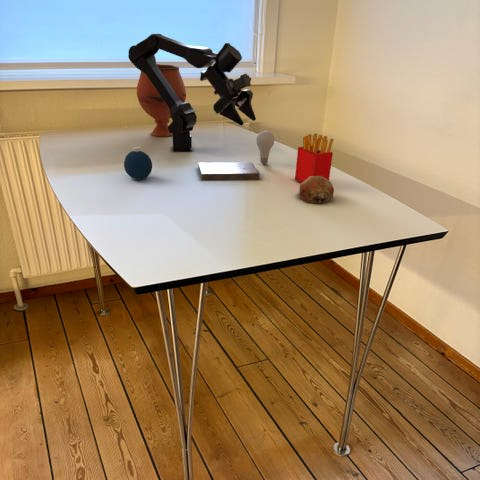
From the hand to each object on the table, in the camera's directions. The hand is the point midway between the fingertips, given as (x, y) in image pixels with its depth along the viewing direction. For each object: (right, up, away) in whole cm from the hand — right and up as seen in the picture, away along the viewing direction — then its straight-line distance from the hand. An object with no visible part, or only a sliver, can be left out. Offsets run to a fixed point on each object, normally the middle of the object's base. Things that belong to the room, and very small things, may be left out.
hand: (248, 122), depth 164 cm
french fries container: (+19, -24, -11) cm, 32 cm away
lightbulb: (+5, -13, +5) cm, 15 cm away
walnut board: (-7, -19, -7) cm, 22 cm away
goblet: (-34, +9, +36) cm, 51 cm away
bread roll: (+19, -31, -23) cm, 43 cm away
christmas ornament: (-34, -23, -14) cm, 43 cm away
